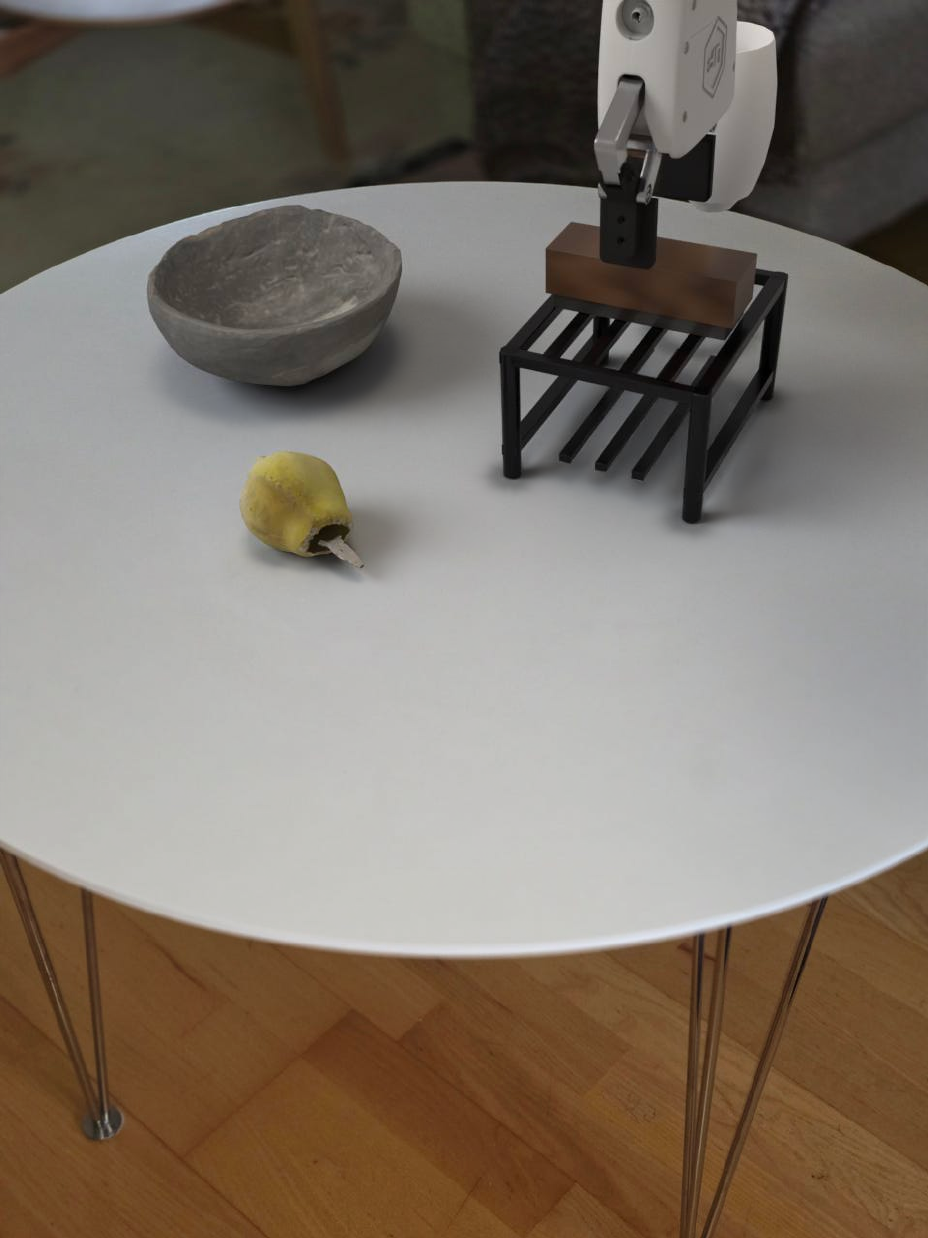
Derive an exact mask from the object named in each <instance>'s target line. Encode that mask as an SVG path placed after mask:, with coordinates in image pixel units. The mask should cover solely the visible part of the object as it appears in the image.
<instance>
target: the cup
mask: <svg viewBox="0 0 928 1238" xmlns="http://www.w3.org/2000/svg"><path fill="white" fill-rule="evenodd" d="M776 42H777V41H776V37H775V34H774V32H773V31H772V30H770V29H768V28H767V27H765V26H763V25H759V24H756V23H752V22H747V21H739V20H737V34H736V64H735V86H734V96H733V100H732V103H731V105H730V107H729V109H728V110H727V111H726V113H725V114H724V115H723V116H722V117H721V119H720V120H719V121H718V123H717V127H716V130H715V132H714V133H712V132H708V133H707V134H712V135H716V144H715V159H714V173H713V188H712V196H711V198H710V199H709V200H708V201H707V202H696V201H689V200H687V201H688V202H689V203H690V205H691V206H692V207H693V208H694V209H696V210H698V211H700V212H704V213H722V212H726V211H728V210H730V209H731V208H732V207H733V206H735V204H736V203H738V201H741V200H743V199H746V198H747V197H749V196H750V194H751V193H753V190H754V188H755V186H756V183H757V181H758V179H759V177H760V175H761V172H762V170H763V168H764V165H765V163H766V159H767V155H768V153H769V152H768V151H769V148H770V144H771V140H772V137H773V132H774V128H775V122H776V121H775V120H776V106H777V93H778V66H777V44H776Z"/></svg>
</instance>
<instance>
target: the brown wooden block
mask: <svg viewBox="0 0 928 1238" xmlns="http://www.w3.org/2000/svg"><path fill="white" fill-rule="evenodd" d="M599 252H600V225H593V224H589V223H588V224H586V223H582V222H576V221H570V222H569V223H568V224H567V225H566V226H565V228H563V230H562V231H561V232H559V234H558V235H557V236H556V237H555V238H554V239H553V240H552V241H551V242H550V243H548V245H547V246H546V247H545V294H549V295H551V294H553V307H555V308H560V309H564V310H565V311H572V312H576V313H578V312H580V313H585V314H590V315H596V316H601V317H606V318H610V320H611V319H612V320H615V319H616V320H621V321H626V322H631V324H637V325H642V326H647V327H657V328H662V329H667V330H668V331H672V332H677V333H683V334H688V335H689V334H692V335H697V336H702V337H706V338H707V339H714V340H719V341H723V342H726V341H727V339H728V338H729V336H730V335H731V334H732V332H733V331H734V329H735V328H736V326H737V325H738V323H739V322H740V320H741V319H742V317H743V316H744V314H745V313H744V312H746V310H747V308H748V307H749V305H750V303H751V302H752V300H753V299H754V289H755V284H754V281H755V271H756V268H757V261H758V253H757V252H750V251H745V250H739V249H734V248H727V247H721V246H716V245H710V244H704V243H699V242H692V241H686V240H681V239H674V238H669V237H663V236H658V235H657V249H656V262H655V264H654V265H653V266H652V268H650V269H648V270H645V269H639V268H633V267H627V266H621V265H615V264H609V263H604V262H603V261H602V260H601V259H600V256H599Z"/></svg>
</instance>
